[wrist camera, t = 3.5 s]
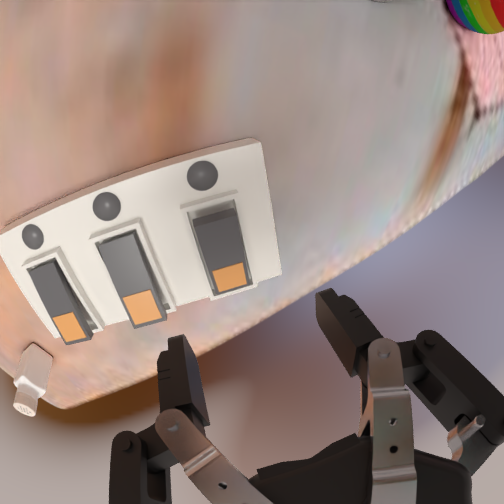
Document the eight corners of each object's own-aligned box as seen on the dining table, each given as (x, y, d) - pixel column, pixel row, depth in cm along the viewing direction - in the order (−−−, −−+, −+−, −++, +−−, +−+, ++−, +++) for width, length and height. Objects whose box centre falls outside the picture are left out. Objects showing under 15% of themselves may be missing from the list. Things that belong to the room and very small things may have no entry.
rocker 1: (59, 257, 21) (52, 262, 19) (94, 331, 24) (90, 340, 22) (34, 266, 20) (28, 272, 19) (70, 337, 23) (65, 345, 22)
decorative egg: (445, 23, 20) (505, 25, 11) (434, -25, 15) (490, -30, 7) (474, 38, 21) (528, 45, 13) (466, -5, 17) (517, -5, 8)
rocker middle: (136, 229, 22) (132, 234, 20) (167, 312, 25) (166, 320, 23) (102, 241, 21) (97, 246, 20) (136, 320, 24) (134, 329, 23)
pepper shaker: (43, 366, 30) (31, 420, 22) (22, 350, 28) (6, 405, 20) (55, 356, 30) (43, 414, 22) (33, 340, 27) (15, 397, 19)
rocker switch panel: (251, 137, 23) (264, 144, 20) (272, 258, 30) (285, 280, 27) (5, 225, 20) (-12, 244, 17) (60, 320, 27) (53, 344, 24)
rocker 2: (232, 204, 21) (237, 215, 20) (246, 273, 27) (250, 285, 26) (191, 216, 21) (194, 228, 20) (213, 283, 27) (216, 295, 25)
